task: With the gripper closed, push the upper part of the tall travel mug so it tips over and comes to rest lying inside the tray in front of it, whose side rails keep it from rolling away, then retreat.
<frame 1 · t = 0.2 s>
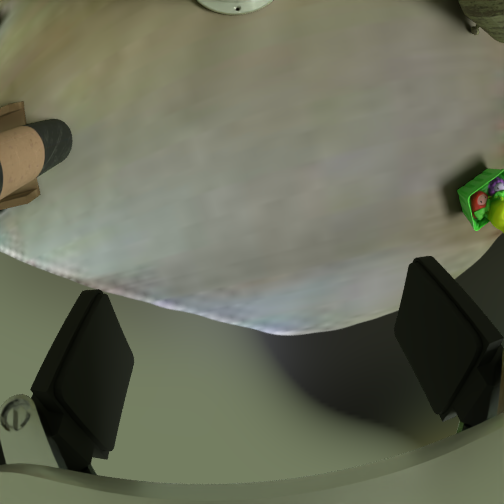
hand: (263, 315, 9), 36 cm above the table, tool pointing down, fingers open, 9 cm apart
travel mug: (54, 141, 39), on the table
fruit basket: (475, 192, 47), on the table
tabletop clock: (463, 0, 29), on the table
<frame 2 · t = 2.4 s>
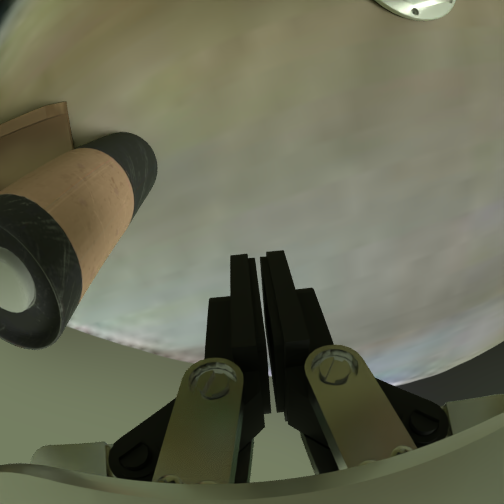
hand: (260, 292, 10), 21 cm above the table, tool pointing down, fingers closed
tray: (13, 193, 28), on the table
travel mug: (123, 167, 28), on the table
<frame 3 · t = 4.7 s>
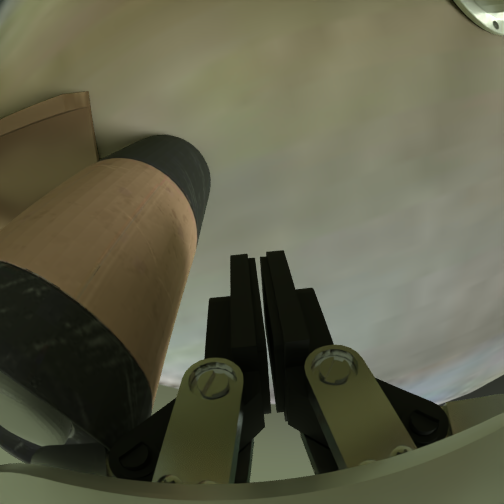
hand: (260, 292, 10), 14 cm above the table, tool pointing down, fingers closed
tray: (16, 207, 22), on the table
travel mug: (164, 180, 23), on the table
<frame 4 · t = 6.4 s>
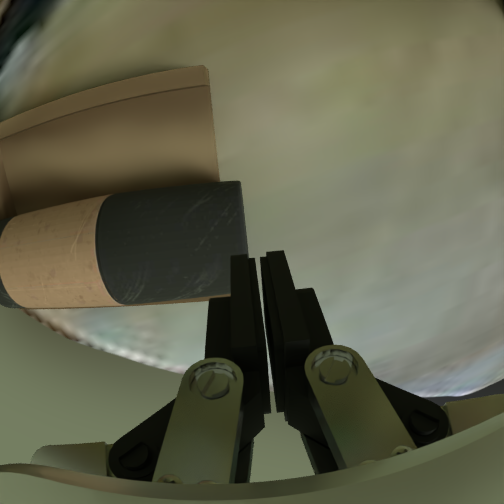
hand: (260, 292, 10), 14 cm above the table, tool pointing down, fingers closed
tray: (96, 194, 23), on the table
travel mug: (249, 235, 20), point 4 cm above the table, touching tray
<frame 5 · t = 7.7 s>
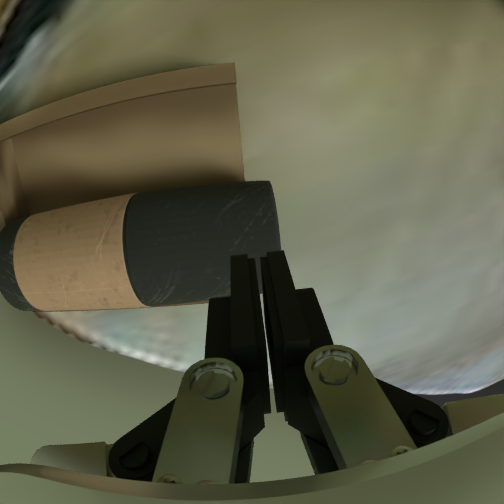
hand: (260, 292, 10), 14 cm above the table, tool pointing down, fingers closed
tray: (115, 193, 22), on the table
travel mug: (277, 235, 20), point 4 cm above the table, touching tray
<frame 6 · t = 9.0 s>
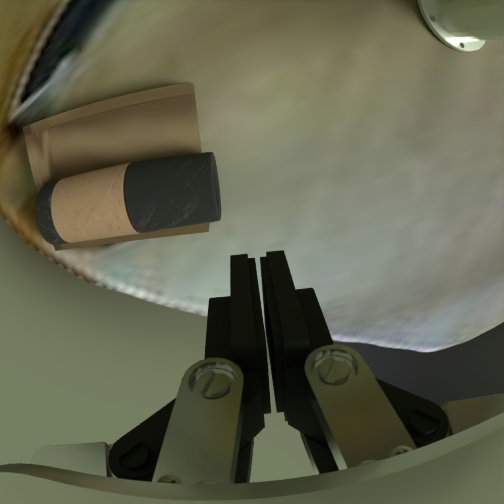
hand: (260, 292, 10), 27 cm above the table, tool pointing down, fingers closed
tray: (118, 166, 34), on the table
travel mug: (218, 185, 32), point 4 cm above the table, touching tray
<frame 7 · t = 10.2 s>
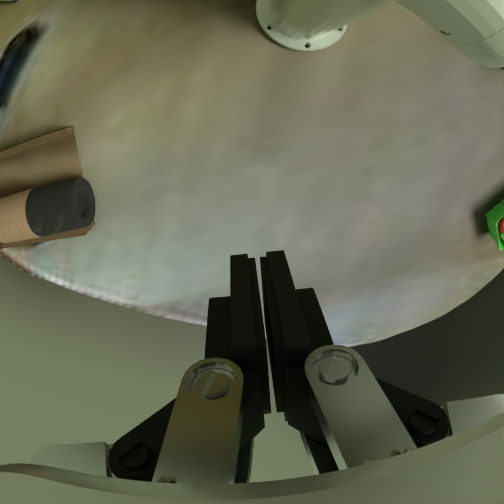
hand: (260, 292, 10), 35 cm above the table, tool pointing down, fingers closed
tray: (34, 188, 42), on the table
travel mug: (85, 201, 39), point 4 cm above the table, touching tray
fruit basket: (500, 214, 49), on the table
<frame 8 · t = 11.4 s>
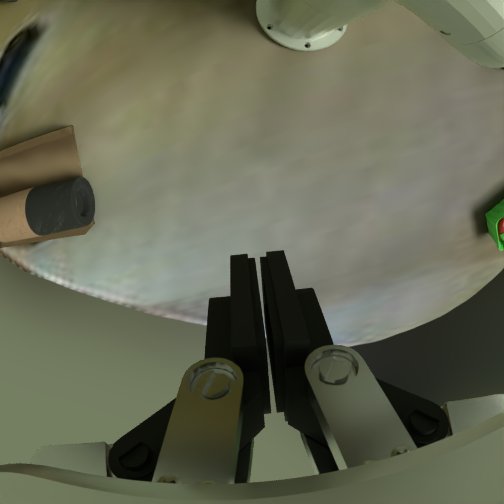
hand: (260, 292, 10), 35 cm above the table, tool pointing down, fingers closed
tray: (34, 187, 41), on the table
travel mug: (85, 201, 39), point 4 cm above the table, touching tray
fruit basket: (499, 214, 49), on the table
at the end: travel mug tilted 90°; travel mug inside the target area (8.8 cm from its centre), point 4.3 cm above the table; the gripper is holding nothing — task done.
